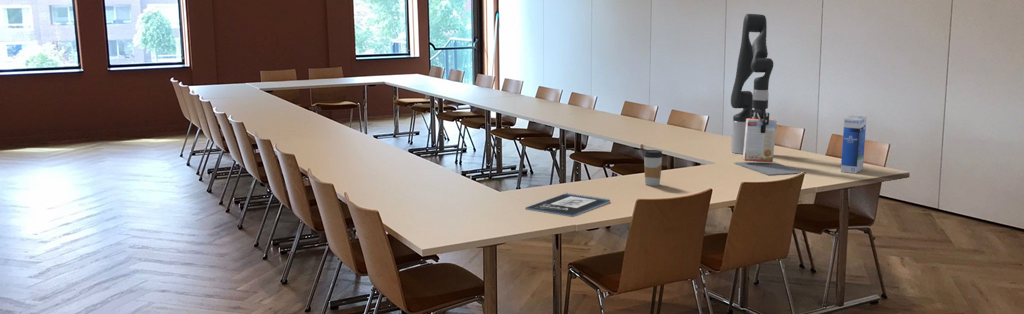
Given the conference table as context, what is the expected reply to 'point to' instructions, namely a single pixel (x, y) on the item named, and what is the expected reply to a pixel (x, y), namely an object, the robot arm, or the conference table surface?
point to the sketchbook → (569, 204)
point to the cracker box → (759, 141)
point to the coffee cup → (652, 167)
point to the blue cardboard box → (853, 144)
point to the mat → (769, 168)
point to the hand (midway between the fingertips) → (758, 131)
